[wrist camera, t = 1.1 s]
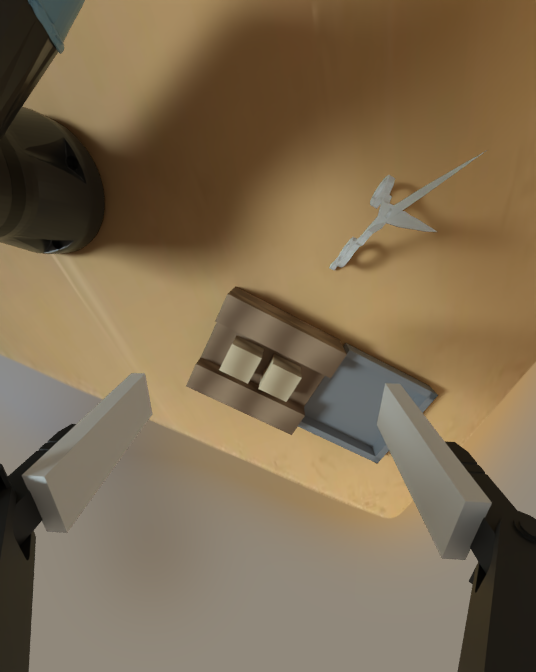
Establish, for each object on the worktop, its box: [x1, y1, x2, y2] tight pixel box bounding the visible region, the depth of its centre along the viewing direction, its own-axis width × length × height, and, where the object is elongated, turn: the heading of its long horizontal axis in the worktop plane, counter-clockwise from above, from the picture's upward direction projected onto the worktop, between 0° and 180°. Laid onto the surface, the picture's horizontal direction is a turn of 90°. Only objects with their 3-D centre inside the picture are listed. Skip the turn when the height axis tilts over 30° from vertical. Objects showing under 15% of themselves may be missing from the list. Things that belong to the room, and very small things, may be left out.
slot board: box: [186, 287, 347, 435], centre depth 36 cm, size 16×14×5 cm
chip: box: [259, 354, 302, 402], centre depth 34 cm, size 4×4×3 cm
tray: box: [298, 343, 438, 463], centre depth 39 cm, size 14×14×2 cm
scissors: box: [329, 151, 486, 270], centre depth 22 cm, size 11×1×20 cm, turn 153°
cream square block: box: [219, 335, 264, 384], centre depth 34 cm, size 4×4×3 cm
